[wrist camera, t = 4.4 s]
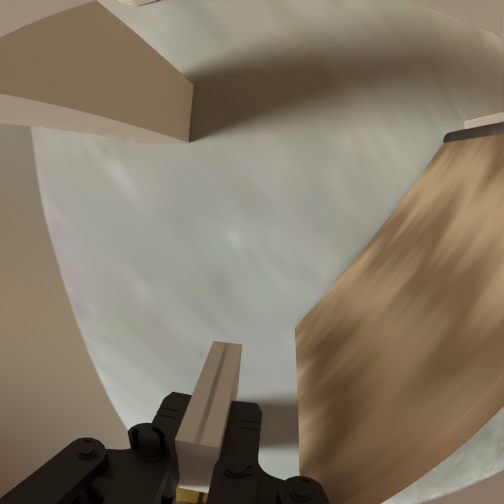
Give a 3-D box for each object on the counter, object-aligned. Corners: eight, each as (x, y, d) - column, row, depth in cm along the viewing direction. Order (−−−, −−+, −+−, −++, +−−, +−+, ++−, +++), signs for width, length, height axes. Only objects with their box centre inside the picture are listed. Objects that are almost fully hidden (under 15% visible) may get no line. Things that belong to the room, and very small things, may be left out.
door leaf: (450, 127, 18) (625, 96, 3) (482, 163, 18) (653, 175, 3) (292, 326, 22) (294, 523, 7) (330, 353, 22) (365, 540, 8)
